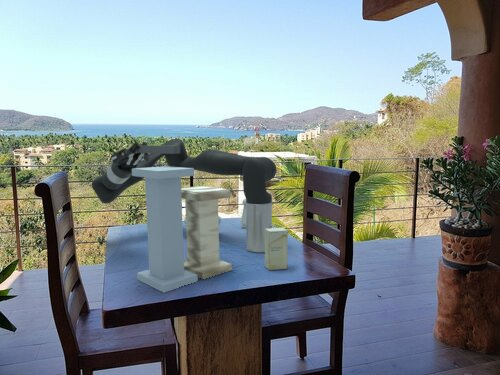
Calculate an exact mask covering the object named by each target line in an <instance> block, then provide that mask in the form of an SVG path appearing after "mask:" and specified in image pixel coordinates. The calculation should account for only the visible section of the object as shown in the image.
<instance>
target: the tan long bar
mask: <svg viewBox="0 0 500 375" xmlns="http://www.w3.org/2000/svg"><path fill="white" fill-rule="evenodd" d="M131 146H132V145H128V148H129V147H131ZM136 153H148V154H149V153H167V154H178V153H180V146H161V145H148V146H140V145H139V149H138V150H137V151H136Z"/></svg>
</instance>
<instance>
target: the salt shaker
mask: <svg viewBox="0 0 500 375" xmlns="http://www.w3.org/2000/svg"><path fill="white" fill-rule="evenodd" d="M242 205H243V208H242V216H241V221H240V223H241V226H242V228H244V229H246V198H244V199H242Z"/></svg>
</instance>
